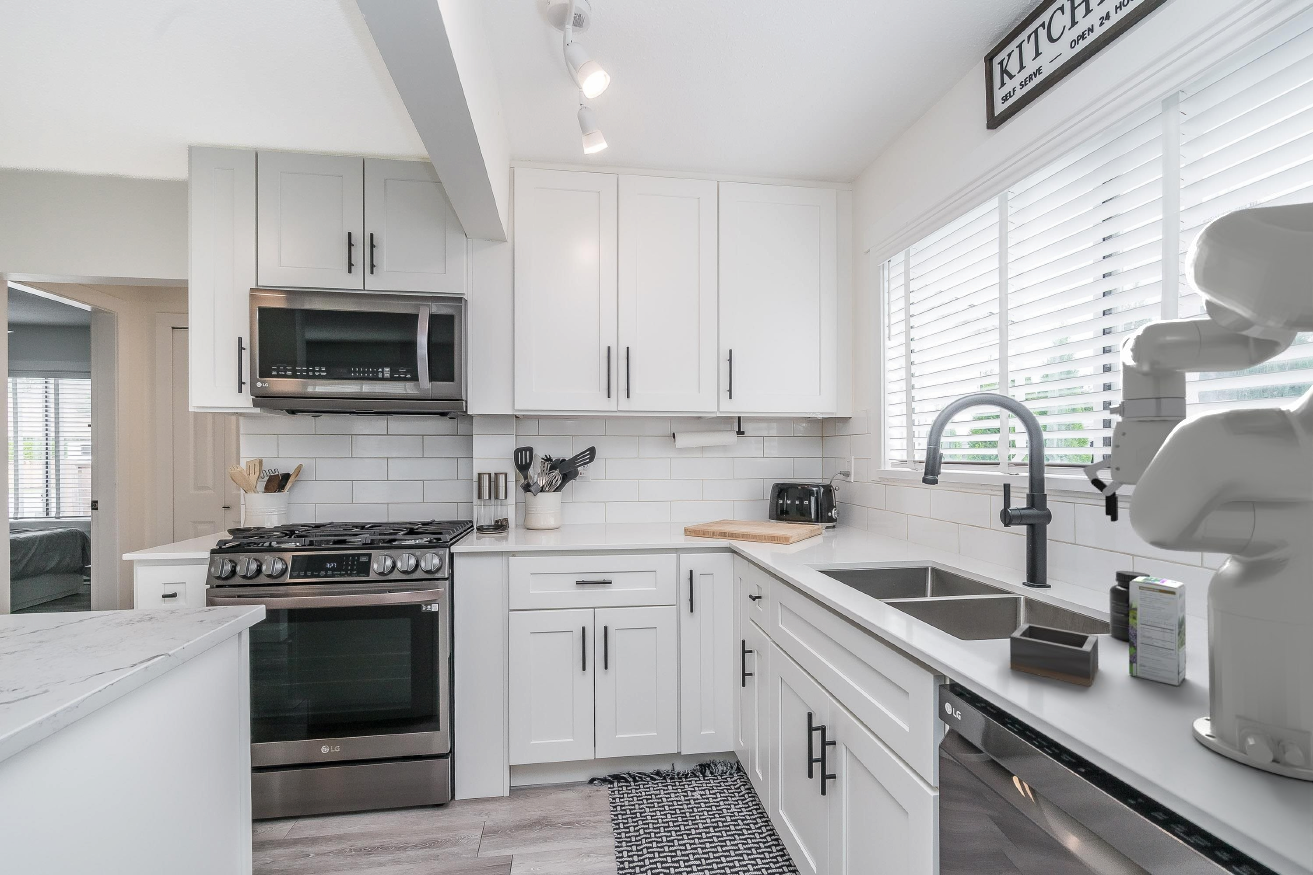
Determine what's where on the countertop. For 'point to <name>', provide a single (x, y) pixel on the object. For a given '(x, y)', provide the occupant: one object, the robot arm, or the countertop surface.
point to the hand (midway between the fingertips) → (1154, 523)
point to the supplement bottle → (1121, 603)
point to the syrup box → (1157, 630)
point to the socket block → (1054, 653)
